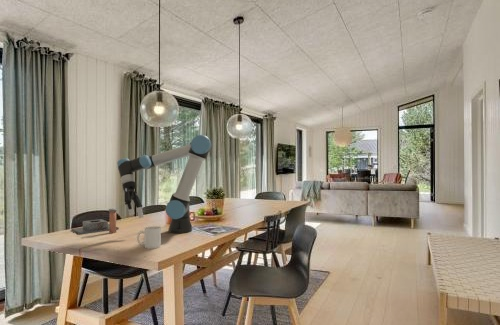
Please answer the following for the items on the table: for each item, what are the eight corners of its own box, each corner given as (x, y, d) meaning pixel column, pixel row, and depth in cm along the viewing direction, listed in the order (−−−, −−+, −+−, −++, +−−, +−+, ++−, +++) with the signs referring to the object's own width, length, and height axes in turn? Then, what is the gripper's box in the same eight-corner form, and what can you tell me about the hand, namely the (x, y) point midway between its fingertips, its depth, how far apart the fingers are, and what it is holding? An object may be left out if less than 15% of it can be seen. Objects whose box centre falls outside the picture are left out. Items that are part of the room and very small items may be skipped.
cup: (161, 248, 169) (161, 228, 169) (137, 250, 165) (137, 230, 165) (159, 244, 177) (159, 225, 177) (136, 246, 172) (136, 227, 172)
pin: (115, 231, 211) (115, 208, 212) (118, 232, 208) (118, 209, 208) (107, 232, 208) (107, 209, 208) (110, 233, 204) (110, 209, 205)
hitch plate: (108, 225, 231) (108, 217, 231) (118, 229, 219) (118, 220, 219) (71, 230, 215) (71, 221, 215) (80, 234, 202) (80, 225, 202)
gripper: (131, 189, 208) (138, 220, 202) (113, 180, 184) (121, 215, 178) (142, 185, 208) (150, 216, 202) (125, 176, 184) (134, 211, 178)
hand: (136, 216), depth 190 cm, fingers open, 13 cm apart
